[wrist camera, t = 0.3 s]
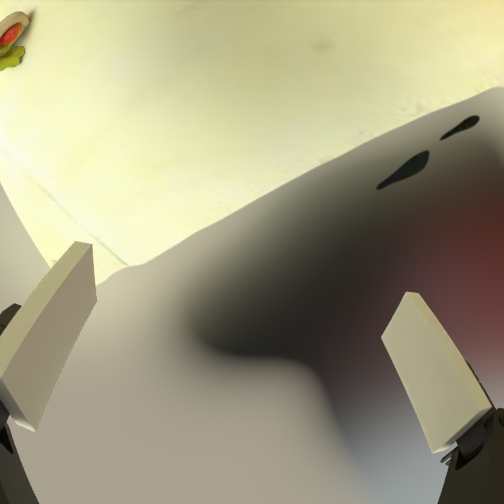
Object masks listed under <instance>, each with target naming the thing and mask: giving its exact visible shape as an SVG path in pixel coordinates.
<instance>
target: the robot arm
mask: <svg viewBox="0 0 504 504" xmlns="http://www.w3.org/2000/svg"><path fill="white" fill-rule="evenodd" d="M96 302H97V297H96V288H95V277H94V264H93V248H92V244H88V243H83V242H77V241H75V242H74V243H73V245H72V246H71V247H70V248H69V249H68V250H67V251H66V252H65V253H64V255H63V256H62V257H61V258H60V259H59V260H58V262H57V263H56V264H55V265H54V266H53V267H52V269H51V270H50V271H49V272H48V273H47V275H46V276H45V277H44V278H43V279H42V281H41V282H40V283H39V284H38V286H37V287H36V288H35V289H34V291H33V292H32V293H31V295H30V296H29V298H28V299H27V300H26V301H25V302H24V304H23V305H22V306H21V305H18V304H13V305H11V306H10V307H8V308H7V309H5V310H4V311H3V312H2V313H1V314H0V504H39V502H38V500H37V498H36V496H35V494H34V492H33V490H32V487H31V485H30V483H29V480H28V478H27V476H26V474H25V471H24V468H23V466H22V463H21V461H20V458H19V455H18V453H17V450H16V447H15V444H14V441H13V438H12V435H11V432H10V428H9V426H8V424H7V419H8V417H9V415H11V417H12V418H13V420H14V421H15V422H16V424H18V425H20V426H23V427H25V428H27V429H29V430H32V431H34V432H36V431H37V428H38V426H39V423H40V421H41V418H42V416H43V413H44V411H45V408H46V406H47V403H48V401H49V398H50V396H51V394H52V391H53V389H54V387H55V384H56V382H57V380H58V378H59V375H60V373H61V371H62V369H63V367H64V365H65V362H66V360H67V358H68V356H69V354H70V352H71V350H72V348H73V346H74V344H75V342H76V340H77V338H78V336H79V334H80V332H81V330H82V328H83V326H84V324H85V322H86V320H87V318H88V317H89V315H90V313H91V311H92V309H93V307H94V305H95V304H96ZM381 338H382V341H383V343H384V345H385V347H386V349H387V351H388V353H389V355H390V357H391V359H392V361H393V363H394V366H395V368H396V370H397V372H398V374H399V376H400V378H401V381H402V383H403V385H404V387H405V389H406V392H407V394H408V396H409V398H410V400H411V403H412V405H413V408H414V410H415V412H416V415H417V417H418V419H419V422H420V424H421V427H422V429H423V432H424V434H425V436H426V439H427V441H428V444H429V446H430V449H431V452H432V454H433V453H436V452H439V451H443V450H446V449H447V448H448V447H449V446H451V445H452V444H453V443H454V442H455V441H456V442H457V444H458V446H457V447H456V448H454V449H453V450H452V451H451V452H450V453H448V454H447V455H446V456H445V457H443V458H442V460H441V463H443V462H444V461H446V460H447V459H448V458H449V457H451V459H450V460H449V461H448V462H447V463H446V465H448V466H449V468H448V472H447V475H446V478H445V482H444V485H443V488H442V492H441V495H440V498H439V501H438V504H504V409H503V408H498V409H497V410H496V408H495V407H494V405H493V403H492V402H491V400H490V398H489V397H488V394H487V393H486V391H485V389H484V388H483V386H482V384H481V383H480V382H479V379H478V378H477V376H476V375H475V373H474V371H473V370H472V368H471V366H470V365H469V363H467V361H466V360H465V359H464V358H463V357H462V355H461V354H460V352H459V351H458V349H457V348H456V346H455V345H454V343H453V342H452V340H451V339H450V337H449V336H448V334H447V333H446V331H445V330H444V328H443V327H442V325H441V324H440V323H439V321H438V320H437V318H436V317H435V316H434V314H433V313H432V311H431V310H430V309H429V307H428V306H427V304H426V303H425V302H424V300H423V299H422V298H421V296H420V295H419V294H418V293H411V292H406V293H405V295H404V297H403V299H402V301H401V303H400V304H399V306H398V308H397V310H396V312H395V314H394V316H393V317H392V319H391V321H390V323H389V325H388V326H387V328H386V330H385V332H384V334H383V335H382V337H381Z"/></svg>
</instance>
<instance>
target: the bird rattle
mask: <svg viewBox="0 0 504 504" xmlns="http://www.w3.org/2000/svg"><path fill="white" fill-rule="evenodd" d="M29 23H30V20H29V19H28V17H27V15H26V14H25V13H23V12H20V11H19V12H15V13H12V14H10V15H9V16H7V17H6V18H5V19H3V20H2V21H1V22H0V71H2V70H4V69H5V68H7V67H15V66H17V65H19V58H20V57H21V56H22V55H23V54H24V53H25V50H24V47H15V48H11V45H12V44H13V43H14V42H15V41H16V40H17V39H18V37H19V36H20V35H21V33H22V32H23V30H24V29H25V28H26V27H27V26H28V25H29Z"/></svg>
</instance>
